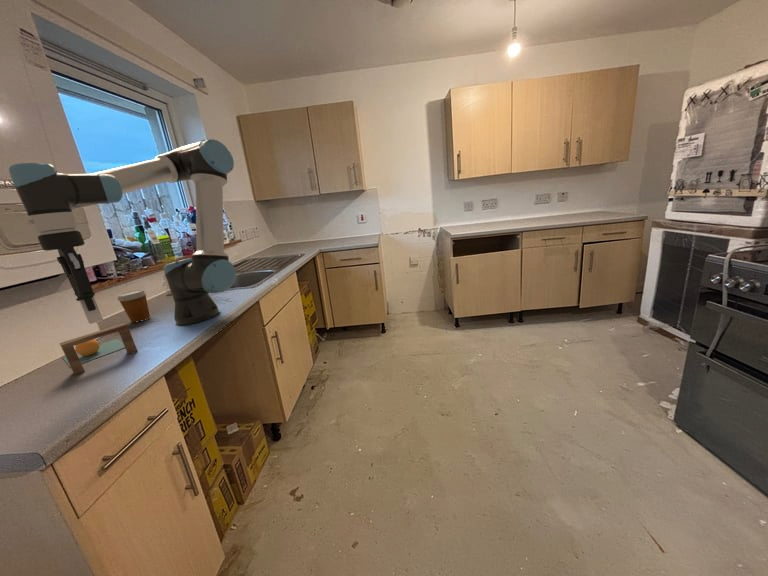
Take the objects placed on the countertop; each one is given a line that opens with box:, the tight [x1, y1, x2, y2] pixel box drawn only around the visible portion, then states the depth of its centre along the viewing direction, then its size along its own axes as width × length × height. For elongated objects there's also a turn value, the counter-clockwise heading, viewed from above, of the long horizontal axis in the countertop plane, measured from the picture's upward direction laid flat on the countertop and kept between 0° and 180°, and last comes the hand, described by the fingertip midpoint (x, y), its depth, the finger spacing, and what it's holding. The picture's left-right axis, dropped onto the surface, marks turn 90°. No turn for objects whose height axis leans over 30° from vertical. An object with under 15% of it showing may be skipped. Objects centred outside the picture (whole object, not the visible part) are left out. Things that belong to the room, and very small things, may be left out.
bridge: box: [59, 322, 138, 376], centre depth 91 cm, size 3×14×9 cm, turn 143°
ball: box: [74, 339, 100, 356], centre depth 98 cm, size 6×6×6 cm
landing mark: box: [62, 338, 125, 367], centre depth 100 cm, size 14×14×1 cm
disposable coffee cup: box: [116, 288, 151, 323], centre depth 127 cm, size 10×10×12 cm
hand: (96, 321), depth 82 cm, fingers closed
